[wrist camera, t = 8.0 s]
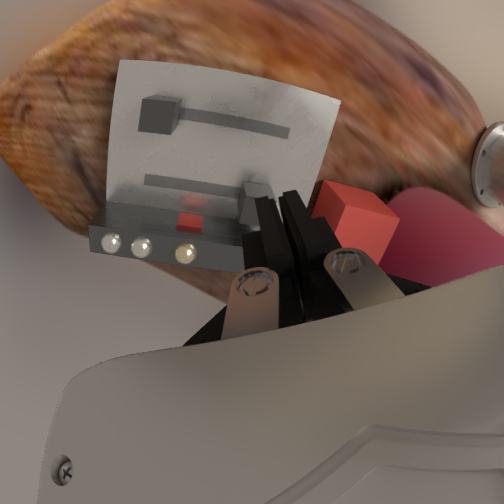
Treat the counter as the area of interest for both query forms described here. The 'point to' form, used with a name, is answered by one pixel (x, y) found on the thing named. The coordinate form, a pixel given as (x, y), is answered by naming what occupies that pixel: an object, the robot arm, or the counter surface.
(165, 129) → the block
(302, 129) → the grey slider control panel
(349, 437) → the robot arm
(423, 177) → the counter surface
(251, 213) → the block
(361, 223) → the matte red cuboid
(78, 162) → the counter surface
